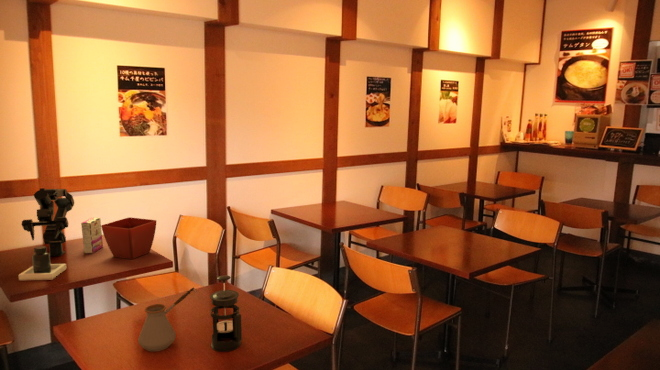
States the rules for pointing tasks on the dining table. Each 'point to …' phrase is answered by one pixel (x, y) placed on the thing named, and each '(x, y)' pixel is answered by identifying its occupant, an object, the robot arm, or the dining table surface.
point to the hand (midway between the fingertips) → (44, 239)
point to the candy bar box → (92, 235)
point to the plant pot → (129, 237)
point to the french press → (226, 327)
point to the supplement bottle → (41, 260)
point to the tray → (55, 271)
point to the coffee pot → (158, 327)
